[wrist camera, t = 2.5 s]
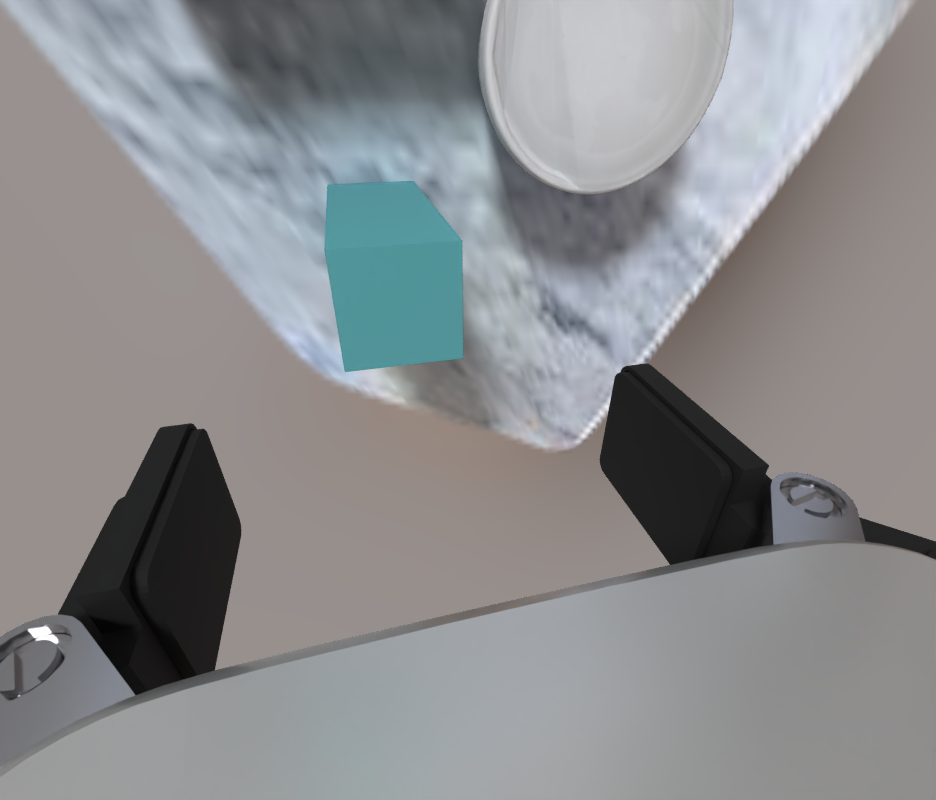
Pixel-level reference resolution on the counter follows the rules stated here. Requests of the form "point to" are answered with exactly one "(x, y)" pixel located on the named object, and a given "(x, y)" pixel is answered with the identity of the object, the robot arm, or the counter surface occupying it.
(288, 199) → the counter surface
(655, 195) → the counter surface
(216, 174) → the counter surface
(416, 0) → the counter surface
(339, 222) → the peg
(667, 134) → the ramekin
